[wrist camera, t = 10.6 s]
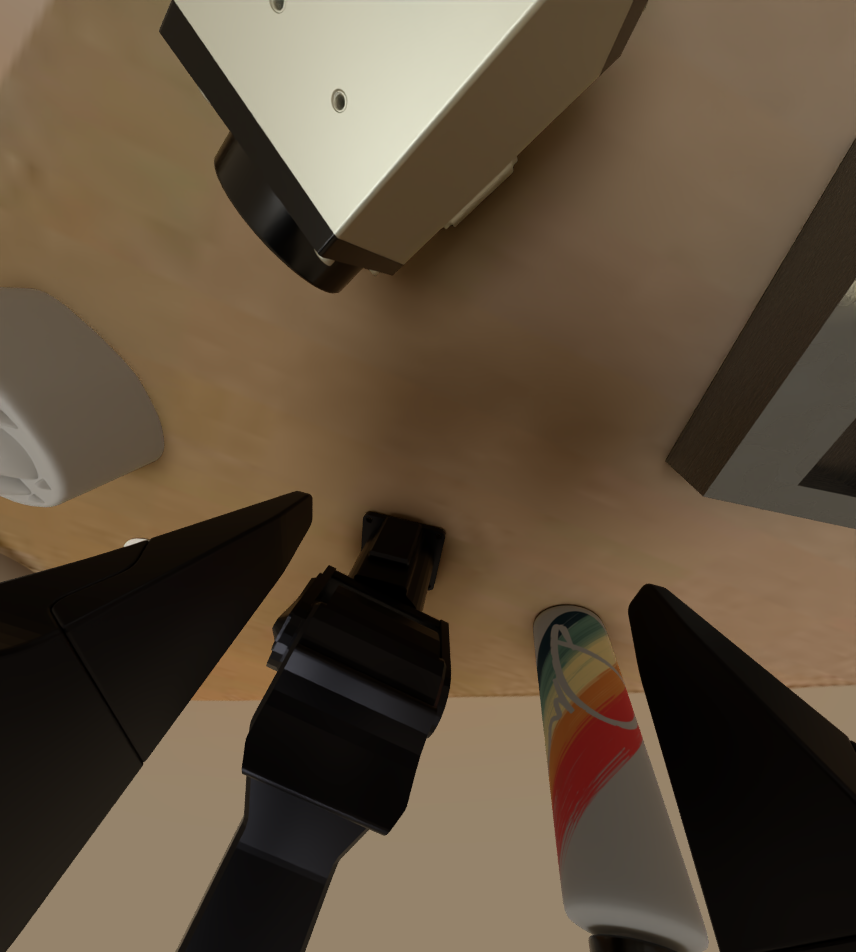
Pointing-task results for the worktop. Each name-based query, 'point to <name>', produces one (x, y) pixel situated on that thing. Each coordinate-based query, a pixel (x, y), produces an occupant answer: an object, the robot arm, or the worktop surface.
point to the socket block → (789, 382)
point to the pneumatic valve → (382, 111)
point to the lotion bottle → (608, 798)
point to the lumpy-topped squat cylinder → (65, 405)
